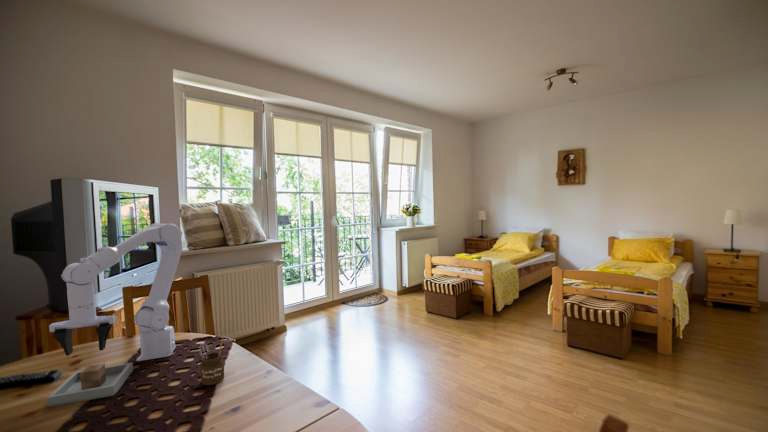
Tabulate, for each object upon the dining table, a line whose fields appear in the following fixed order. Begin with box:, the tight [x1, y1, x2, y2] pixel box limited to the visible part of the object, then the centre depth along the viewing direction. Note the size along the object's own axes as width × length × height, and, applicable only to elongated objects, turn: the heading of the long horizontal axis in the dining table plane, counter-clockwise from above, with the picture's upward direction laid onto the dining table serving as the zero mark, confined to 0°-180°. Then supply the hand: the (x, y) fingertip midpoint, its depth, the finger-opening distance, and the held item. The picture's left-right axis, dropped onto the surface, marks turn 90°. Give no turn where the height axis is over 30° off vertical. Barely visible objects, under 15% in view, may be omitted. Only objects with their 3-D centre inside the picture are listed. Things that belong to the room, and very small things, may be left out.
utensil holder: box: [199, 335, 225, 386], centre depth 96 cm, size 6×6×12 cm
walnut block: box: [80, 363, 106, 390], centre depth 95 cm, size 4×4×5 cm
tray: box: [46, 362, 134, 408], centre depth 95 cm, size 14×14×2 cm
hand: (86, 351), depth 98 cm, fingers open, 7 cm apart
